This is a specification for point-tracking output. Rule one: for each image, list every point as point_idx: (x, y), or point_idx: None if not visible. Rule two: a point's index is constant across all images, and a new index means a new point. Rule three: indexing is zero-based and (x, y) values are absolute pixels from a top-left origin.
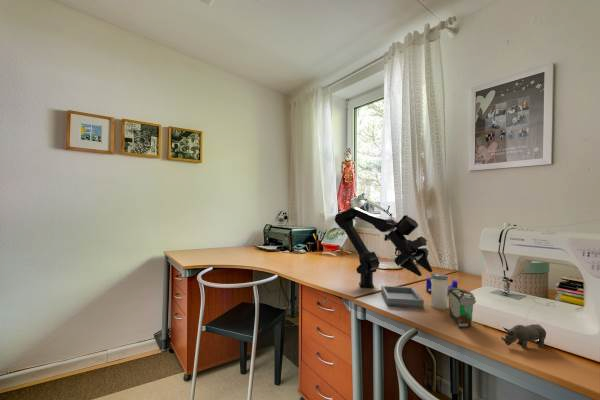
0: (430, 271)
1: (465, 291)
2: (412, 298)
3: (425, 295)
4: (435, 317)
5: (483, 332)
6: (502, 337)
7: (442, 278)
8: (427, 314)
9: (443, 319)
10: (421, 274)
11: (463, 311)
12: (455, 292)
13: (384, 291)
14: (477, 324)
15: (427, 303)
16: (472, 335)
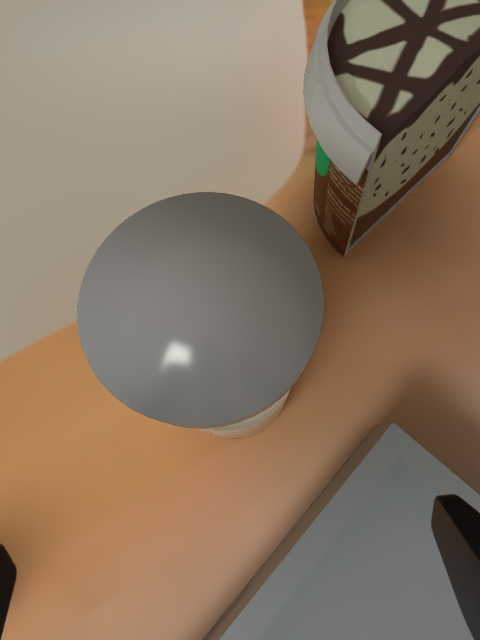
0: (7, 575)
1: (329, 31)
2: (311, 598)
3: (63, 611)
4: (439, 292)
5: None
6: None
7: (279, 223)
8: (446, 347)
9: (419, 252)
10: (452, 495)
11: None
12: (404, 81)
13: None
14: (307, 133)
15: (246, 473)
16: None
